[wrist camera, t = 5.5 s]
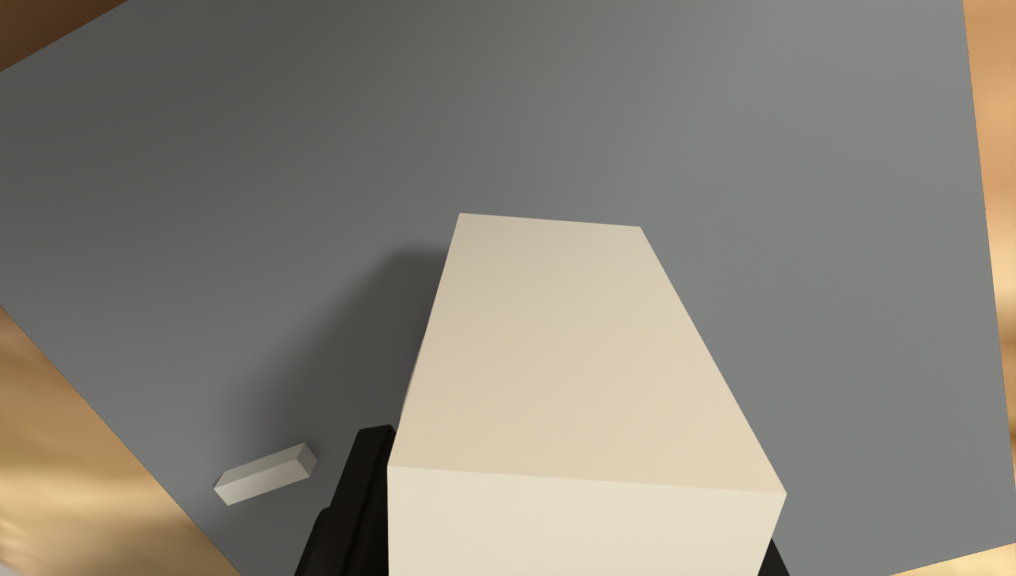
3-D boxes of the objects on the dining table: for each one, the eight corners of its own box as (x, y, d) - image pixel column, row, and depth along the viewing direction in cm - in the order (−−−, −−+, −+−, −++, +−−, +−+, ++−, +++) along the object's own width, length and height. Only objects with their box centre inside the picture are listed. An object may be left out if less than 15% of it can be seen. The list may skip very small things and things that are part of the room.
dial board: (857, -379, 9) (941, -475, 8) (981, 498, 17) (1039, 560, 15) (-71, 135, 13) (-171, 157, 11) (373, 666, 21) (359, 732, 19)
